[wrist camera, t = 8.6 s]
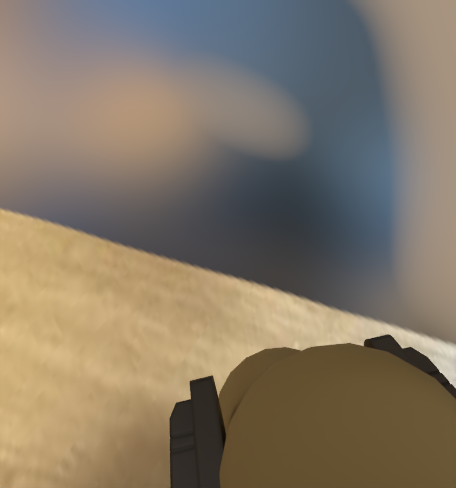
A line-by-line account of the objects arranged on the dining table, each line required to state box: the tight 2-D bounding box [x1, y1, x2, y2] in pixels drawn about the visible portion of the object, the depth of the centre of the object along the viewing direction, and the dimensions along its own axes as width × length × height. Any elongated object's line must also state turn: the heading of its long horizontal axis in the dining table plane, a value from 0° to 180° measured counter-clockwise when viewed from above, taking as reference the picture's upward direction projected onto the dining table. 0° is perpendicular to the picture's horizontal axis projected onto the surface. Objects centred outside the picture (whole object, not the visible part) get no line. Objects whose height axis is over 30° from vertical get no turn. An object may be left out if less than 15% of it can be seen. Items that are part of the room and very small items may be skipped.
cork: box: [219, 343, 456, 488], centre depth 11 cm, size 6×6×11 cm
